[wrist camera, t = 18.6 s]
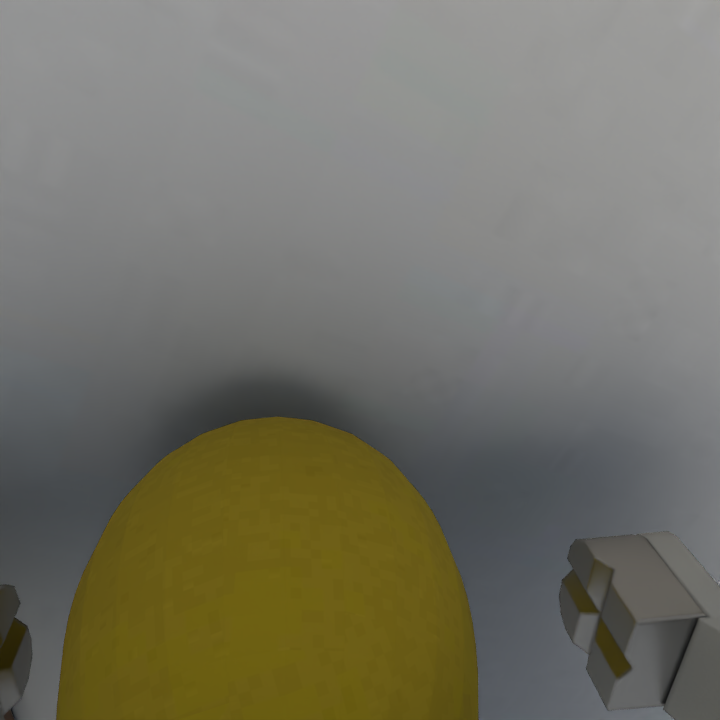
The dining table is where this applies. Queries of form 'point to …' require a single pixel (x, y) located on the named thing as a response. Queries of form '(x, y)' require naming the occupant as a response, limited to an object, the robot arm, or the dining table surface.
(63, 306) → the dining table surface
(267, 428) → the lemon
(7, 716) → the tray
